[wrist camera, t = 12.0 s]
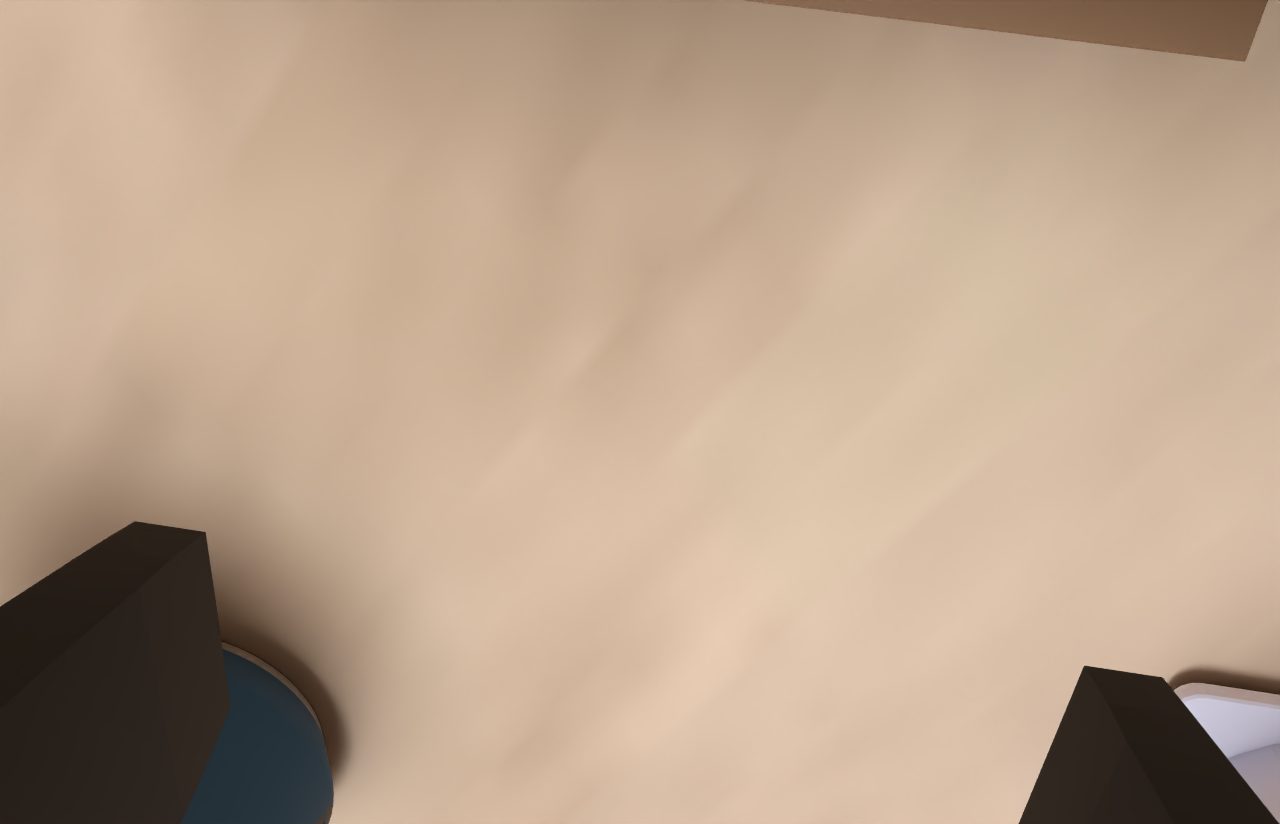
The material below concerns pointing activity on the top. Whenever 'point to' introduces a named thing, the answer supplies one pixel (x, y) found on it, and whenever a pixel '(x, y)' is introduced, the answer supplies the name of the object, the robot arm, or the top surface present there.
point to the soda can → (264, 754)
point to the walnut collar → (1084, 20)
